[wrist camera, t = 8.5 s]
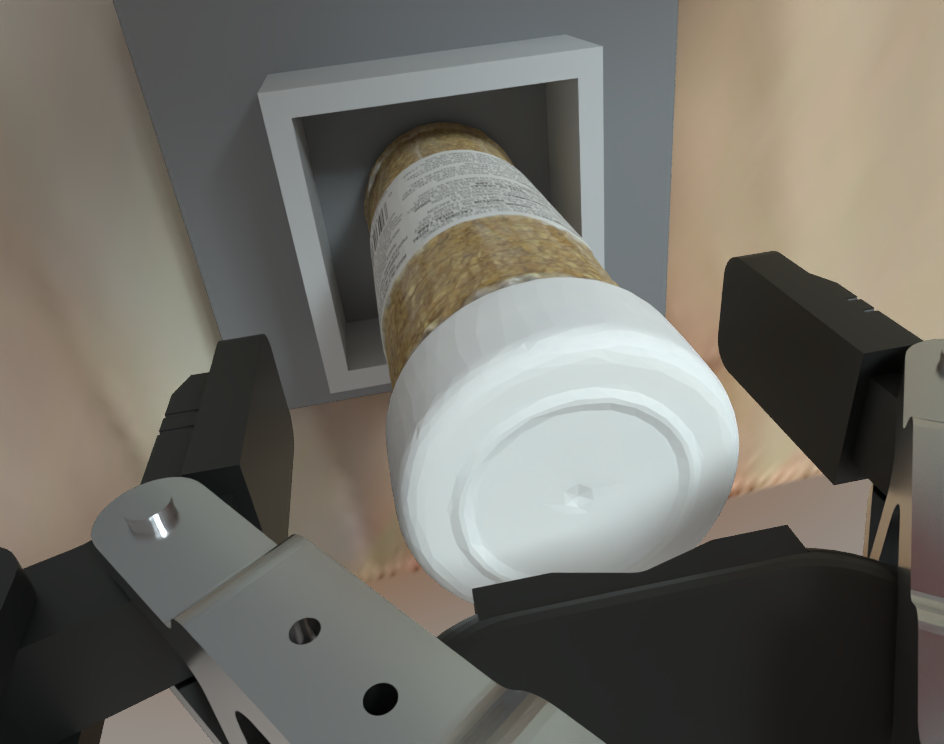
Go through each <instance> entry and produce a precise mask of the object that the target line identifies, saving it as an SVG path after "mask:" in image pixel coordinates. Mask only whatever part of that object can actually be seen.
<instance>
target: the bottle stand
mask: <svg viewBox="0 0 944 744" xmlns="http://www.w3.org/2000/svg"><path fill="white" fill-rule="evenodd" d="M113 3H114V6H115V9H116V12H117V15H118V18H119V21H120V24H121V27H122V31H123V34H124V37H125V40H126V43H127V46H128V49H129V52H130V55H131V58H132V62H133V65H134V68H135V71H136V74H137V77H138V80H139V83H140V86H141V89H142V93H143V96H144V99H145V102H146V105H147V108H148V111H149V114H150V117H151V120H152V124H153V127H154V130H155V133H156V136H157V139H158V142H159V145H160V148H161V151H162V155H163V158H164V161H165V164H166V167H167V170H168V173H169V176H170V179H171V182H172V186H173V189H174V192H175V195H176V198H177V201H178V204H179V207H180V210H181V213H182V217H183V220H184V223H185V226H186V229H187V232H188V235H189V238H190V241H191V244H192V248H193V251H194V254H195V257H196V260H197V263H198V266H199V269H200V272H201V275H202V279H203V282H204V285H205V288H206V291H207V294H208V297H209V300H210V303H211V306H212V310H213V313H214V316H215V319H216V322H217V325H218V328H219V331H220V334H221V337H222V340H228V339H234V338H240V337H246V336H252V335H259V334H265V335H266V336H267V338H268V340H269V343H270V346H271V349H272V352H273V356H274V359H275V363H276V366H277V370H278V374H279V377H280V381H281V384H282V388H283V391H284V395H285V398H286V402H287V405H288V409H295V408H300V407H306V406H311V405H317V404H322V403H328V402H334V401H339V400H345V399H350V398H356V397H362V396H367V395H373V394H378V393H384V392H389V391H392V385H391V381H390V376H389V369H388V364H387V361H386V358H385V354H384V351H383V345H382V339H381V332H380V324H379V315H378V307H377V300H376V292H375V283H374V274H373V266H372V258H371V248H370V233H369V230H368V226H367V221H366V218H365V214H364V200H365V189H366V185H367V183H368V178H369V174H370V171H371V169H372V167H373V165H374V163H375V162H376V160H377V158H378V157H379V156H380V155H381V154H382V152H383V151H384V149H385V148H386V147H387V146H388V145H389V144H391V143H392V142H393V141H394V140H395V139H396V138H398V137H399V136H400V135H402V134H404V133H406V132H408V131H410V130H411V129H413V128H414V127H416V126H421V125H425V124H431V123H436V122H446V123H458V124H462V125H464V126H467V127H472V128H476V129H479V130H480V131H482V132H483V133H485V134H486V135H487V136H488V137H489V138H491V139H492V140H493V141H494V142H496V143H497V144H498V145H499V146H500V147H501V148H502V149H503V150H504V151H505V152H506V154H507V156H508V157H509V158H510V159H511V161H512V163H513V165H514V167H515V168H516V169H518V170H519V171H520V172H521V173H522V174H523V175H524V176H525V177H526V178H527V179H528V180H529V181H530V182H531V183H532V184H533V185H534V186H535V187H536V189H537V190H538V191H539V192H540V193H541V194H542V195H543V196H544V197H545V198H546V200H547V201H548V202H549V203H550V204H551V205H552V206H553V207H554V208H555V209H556V210H557V212H558V213H559V214H560V215H561V216H562V217H563V218H564V219H565V220H566V221H567V222H568V223H569V224H570V226H571V227H572V228H573V229H574V230H575V231H576V232H577V233H578V234H579V235H580V236H581V238H582V239H583V240H584V241H585V242H586V243H587V244H588V245H589V247H590V249H591V250H592V253H593V256H594V257H595V258H596V260H597V261H598V262H599V264H600V265H601V266H602V268H603V269H604V270H605V271H606V272H607V273H608V275H609V276H610V278H611V279H612V280H613V281H614V282H615V283H617V284H618V286H619V287H620V288H622V289H625V290H628V291H630V292H631V293H633V294H635V295H636V296H638V297H639V298H641V299H643V300H644V301H646V302H647V303H649V304H650V305H651V306H653V307H654V308H655V309H656V310H657V311H659V312H660V313H661V314H662V315H663V316H664V317H665V312H666V288H667V264H668V240H669V216H670V192H671V168H672V144H673V120H674V96H675V72H676V48H677V24H678V0H113Z"/></svg>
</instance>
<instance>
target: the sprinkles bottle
mask: <svg viewBox="0 0 944 744" xmlns="http://www.w3.org/2000/svg"><path fill="white" fill-rule="evenodd" d="M364 214H365V218H366V221H367V226H368V230H369V233H370V248H371V258H372V266H373V274H374V283H375V292H376V300H377V307H378V315H379V324H380V332H381V339H382V345H383V351H384V354H385V358H386V361H387V364H388V369H389V376H390V381H391V385H392V395H391V398H390V403H389V408H388V413H387V421H386V444H387V453H388V461H389V469H390V477H391V485H392V491H393V497H394V502H395V508H396V513H397V517H398V521H399V525H400V529H401V532H402V535H403V537H404V539H405V541H406V544H407V546H408V548H409V549H410V551H411V552H412V554H413V556H414V557H415V559H416V560H417V562H418V563H419V564H420V566H421V567H422V568H423V569H424V570H425V572H426V573H427V574H428V575H429V576H430V577H432V578H433V579H434V580H435V581H436V582H437V583H438V584H439V585H440V586H441V587H443V588H444V589H446V590H448V591H450V592H451V593H453V594H454V595H456V596H458V597H460V598H461V599H463V600H465V601H467V602H469V603H472V604H474V601H473V594H472V589H473V588H478V587H483V586H488V585H493V584H498V583H503V582H508V581H512V580H517V579H522V578H527V577H532V576H537V575H542V574H547V573H636V572H642V571H645V570H648V569H650V568H653V567H655V566H657V565H659V564H661V563H663V562H666V561H668V560H670V559H672V558H674V557H676V556H679V555H681V554H683V553H685V552H687V551H689V550H692V549H694V548H695V547H696V546H697V545H698V544H699V543H700V542H701V540H702V539H703V538H704V537H705V536H706V534H707V533H708V531H709V530H710V529H711V527H712V525H713V524H714V522H715V521H716V519H717V518H718V516H719V515H720V513H721V511H722V509H723V507H724V505H725V503H726V501H727V498H728V496H729V494H730V491H731V488H732V485H733V482H734V478H735V474H736V469H737V464H738V453H739V436H738V428H737V423H736V418H735V413H734V410H733V408H732V405H731V403H730V400H729V397H728V395H727V393H726V391H725V389H724V387H723V385H722V384H721V382H720V381H719V379H718V378H717V377H716V375H715V374H714V373H713V372H712V370H711V369H710V368H709V367H708V365H707V364H706V363H705V362H704V361H703V360H702V358H701V357H700V356H699V355H698V354H697V353H696V351H695V350H694V349H693V348H692V347H691V346H690V344H689V343H688V342H687V341H686V340H685V339H684V338H683V337H682V335H681V334H680V333H679V332H678V331H677V330H676V329H675V328H674V327H673V326H672V325H671V324H670V323H669V321H668V320H667V319H666V318H665V317H664V316H663V315H662V314H661V313H660V312H659V311H657V310H656V309H655V308H654V307H653V306H651V305H650V304H649V303H647V302H646V301H644V300H643V299H641V298H639V297H638V296H636V295H635V294H633V293H631V292H630V291H628V290H625V289H622V288H620V287H619V286H618V284H617V283H615V282H614V281H613V280H612V279H611V278H610V276H609V275H608V273H607V272H606V271H605V270H604V269H603V268H602V266H601V265H600V264H599V262H598V261H597V260H596V258H595V257H594V256H593V253H592V250H591V249H590V247H589V245H588V244H587V243H586V242H585V241H584V240H583V239H582V238H581V236H580V235H579V234H578V233H577V232H576V231H575V230H574V229H573V228H572V227H571V226H570V224H569V223H568V222H567V221H566V220H565V219H564V218H563V217H562V216H561V215H560V214H559V213H558V212H557V210H556V209H555V208H554V207H553V206H552V205H551V204H550V203H549V202H548V201H547V200H546V198H545V197H544V196H543V195H542V194H541V193H540V192H539V191H538V190H537V189H536V187H535V186H534V185H533V184H532V183H531V182H530V181H529V180H528V179H527V178H526V177H525V176H524V175H523V174H522V173H521V172H520V171H519V170H518V169H516V168H515V167H514V165H513V163H512V161H511V159H510V158H509V157H508V156H507V154H506V152H505V151H504V150H503V149H502V148H501V147H500V146H499V145H498V144H497V143H496V142H494V141H493V140H492V139H491V138H489V137H488V136H487V135H486V134H485V133H483V132H482V131H480V130H479V129H476V128H472V127H467V126H464V125H462V124H458V123H446V122H436V123H431V124H425V125H421V126H416V127H414V128H413V129H411V130H410V131H408V132H406V133H404V134H402V135H400V136H399V137H398V138H396V139H395V140H394V141H393V142H392V143H391V144H389V145H388V146H387V147H386V148H385V149H384V151H383V152H382V154H381V155H380V156H379V157H378V158H377V160H376V162H375V163H374V165H373V167H372V169H371V171H370V174H369V178H368V183H367V185H366V189H365V200H364Z"/></svg>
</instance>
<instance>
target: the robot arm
mask: <svg viewBox="0 0 944 744" xmlns="http://www.w3.org/2000/svg"><path fill="white" fill-rule="evenodd" d="M718 347H719V353H720V356H721V359H722V362H723V364H724V366H725V368H726V369H727V371H728V372H729V373H730V374H731V375H732V376H733V377H734V378H735V379H736V380H737V382H738V383H739V384H740V385H741V386H742V387H743V388H744V389H745V390H746V391H747V392H748V393H749V394H750V395H751V397H752V398H753V399H754V400H755V401H756V402H757V403H758V404H759V405H760V406H761V407H762V408H763V409H764V411H765V412H766V413H767V414H768V415H769V416H770V417H771V418H772V419H773V420H774V421H775V422H776V423H777V424H778V426H779V427H780V428H781V429H782V430H783V431H784V432H785V433H786V434H787V435H788V436H789V437H790V438H791V440H792V441H793V442H794V443H795V444H796V445H797V446H798V447H799V448H800V449H801V450H802V451H803V452H804V453H805V455H806V456H807V457H808V458H809V459H810V460H811V461H812V462H813V463H814V464H815V465H816V466H817V467H818V469H819V470H820V471H821V472H822V473H823V474H824V475H825V476H826V477H827V478H828V479H829V480H830V481H831V482H832V484H833V485H837V484H842V483H848V482H852V481H858V480H863V479H869V480H870V481H871V482H872V485H871V489H870V493H869V497H868V501H867V511H866V522H865V533H864V545H863V556H860V555H856V554H852V553H847V552H841V551H836V550H827V549H817V548H805V547H804V546H803V544H802V543H801V542H800V541H799V539H798V538H797V537H796V536H795V534H794V533H793V532H792V530H791V529H790V528H789V527H788V525H784V526H779V527H774V528H769V529H764V530H759V531H754V532H749V533H745V534H739V535H735V536H730V537H725V538H720V539H715V540H711V541H709V542H707V543H705V544H703V545H700V546H698V547H696V548H694V549H692V550H689V551H687V552H685V553H683V554H681V555H679V556H676V557H674V558H672V559H670V560H668V561H666V562H663V563H661V564H659V565H657V566H655V567H653V568H650V569H648V570H645V571H642V572H636V573H547V574H542V575H537V576H532V577H527V578H522V579H517V580H512V581H508V582H503V583H498V584H493V585H488V586H483V587H478V588H473V589H472V594H473V601H474V608H475V615H473V616H471V617H469V618H467V619H465V620H463V621H461V622H459V623H458V624H456V625H454V626H452V627H451V628H449V629H447V630H446V631H444V632H443V633H442V634H440V635H439V636H438V637H435V636H434V635H432V634H431V633H430V632H428V631H427V630H426V629H424V628H423V627H422V626H420V625H419V624H418V623H417V622H415V621H414V620H413V619H411V618H410V617H409V616H407V615H406V614H405V613H403V612H402V611H401V610H399V609H398V608H397V607H395V606H394V605H393V604H392V603H390V602H389V601H387V600H386V599H385V598H384V597H382V596H381V595H380V594H378V593H377V592H376V591H374V590H373V589H372V588H371V587H369V586H368V585H367V584H365V583H364V582H363V581H361V580H360V579H359V578H357V577H356V576H355V575H353V574H352V573H351V572H349V571H348V570H347V569H346V568H344V567H343V566H342V565H340V564H339V563H338V562H336V561H335V560H334V559H332V558H331V557H330V556H328V555H327V554H326V553H325V552H323V551H322V550H321V549H319V548H318V547H317V546H315V545H314V544H313V543H311V542H310V541H309V540H307V539H306V538H304V537H302V536H300V535H296V534H294V535H291V536H290V537H288V526H289V512H290V498H291V483H292V469H293V455H294V436H293V428H292V422H291V417H290V412H289V409H288V405H287V402H286V398H285V395H284V391H283V388H282V384H281V381H280V377H279V374H278V370H277V366H276V363H275V359H274V356H273V352H272V349H271V346H270V343H269V340H268V338H267V336H266V335H265V334H259V335H252V336H246V337H240V338H234V339H228V340H222V341H219V342H218V344H217V347H216V350H215V354H214V358H213V361H212V365H211V368H210V372H208V373H202V374H196V375H191V376H190V377H189V378H188V379H187V380H186V381H185V382H184V383H183V384H182V385H181V386H180V387H179V388H178V389H177V390H176V391H175V392H174V393H173V394H172V396H171V399H170V401H169V404H168V407H167V410H166V413H165V417H166V418H164V419H163V421H162V424H161V427H160V430H159V432H160V435H158V436H157V439H156V441H155V444H154V447H153V450H152V453H151V456H150V459H149V461H148V464H147V467H146V470H145V473H144V476H143V479H142V482H141V484H140V485H139V486H137V487H135V488H133V489H131V490H129V491H127V492H125V493H124V494H122V495H120V496H119V497H117V498H116V499H115V500H113V501H112V502H111V503H110V504H109V505H108V506H107V507H106V508H105V509H104V510H103V511H102V512H101V513H100V514H99V516H98V517H97V519H96V521H95V522H94V525H93V528H92V533H91V537H92V540H91V541H89V542H87V543H85V544H83V545H81V546H79V547H77V548H74V549H72V550H70V551H67V552H65V553H62V554H60V555H57V556H55V557H52V558H49V559H47V560H44V561H42V562H39V563H37V564H34V565H32V566H29V567H27V568H24V569H22V567H21V566H20V564H19V562H18V561H17V559H16V557H15V556H14V555H13V554H12V552H10V551H8V550H7V549H4V548H1V547H0V744H99V742H100V738H101V734H102V729H103V725H104V720H105V719H106V718H108V717H110V716H112V715H114V714H116V713H118V712H121V711H122V710H125V709H127V708H128V707H131V706H133V705H135V704H137V703H139V702H141V701H143V700H145V699H147V698H149V697H151V696H153V695H155V694H157V693H159V692H161V691H163V690H166V689H168V688H170V689H171V691H172V692H173V694H174V695H175V696H176V697H177V699H178V700H179V701H180V702H181V703H182V705H183V706H184V707H185V708H186V710H187V711H188V712H189V713H190V714H191V716H192V717H193V718H194V720H195V721H196V722H197V723H198V724H199V726H200V727H201V728H202V729H203V731H204V732H205V733H206V734H207V736H208V737H209V738H210V739H211V740H212V742H213V743H214V744H944V339H933V340H926V341H923V340H921V339H920V338H918V337H917V336H915V335H914V334H912V333H911V332H909V331H908V330H906V329H905V328H903V327H902V326H900V325H899V324H897V323H896V322H894V321H893V320H892V319H890V318H889V317H887V316H886V315H884V314H883V313H881V312H880V311H874V307H872V306H871V305H869V304H868V303H866V302H865V301H863V300H862V299H859V300H857V296H856V295H854V294H853V293H851V292H850V291H848V290H847V289H845V288H844V287H842V286H841V285H839V284H838V283H836V282H833V281H830V280H827V279H824V278H821V277H819V276H816V275H813V274H810V273H808V272H807V271H805V270H804V269H802V268H801V267H799V266H798V265H796V264H795V263H794V262H792V261H791V260H789V259H788V258H786V257H785V256H783V255H782V254H780V253H779V252H777V251H770V252H764V253H758V254H751V255H745V256H739V257H733V258H731V259H730V260H729V261H728V263H727V265H726V268H725V272H724V281H723V291H722V301H721V312H720V322H719V332H718Z"/></svg>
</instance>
